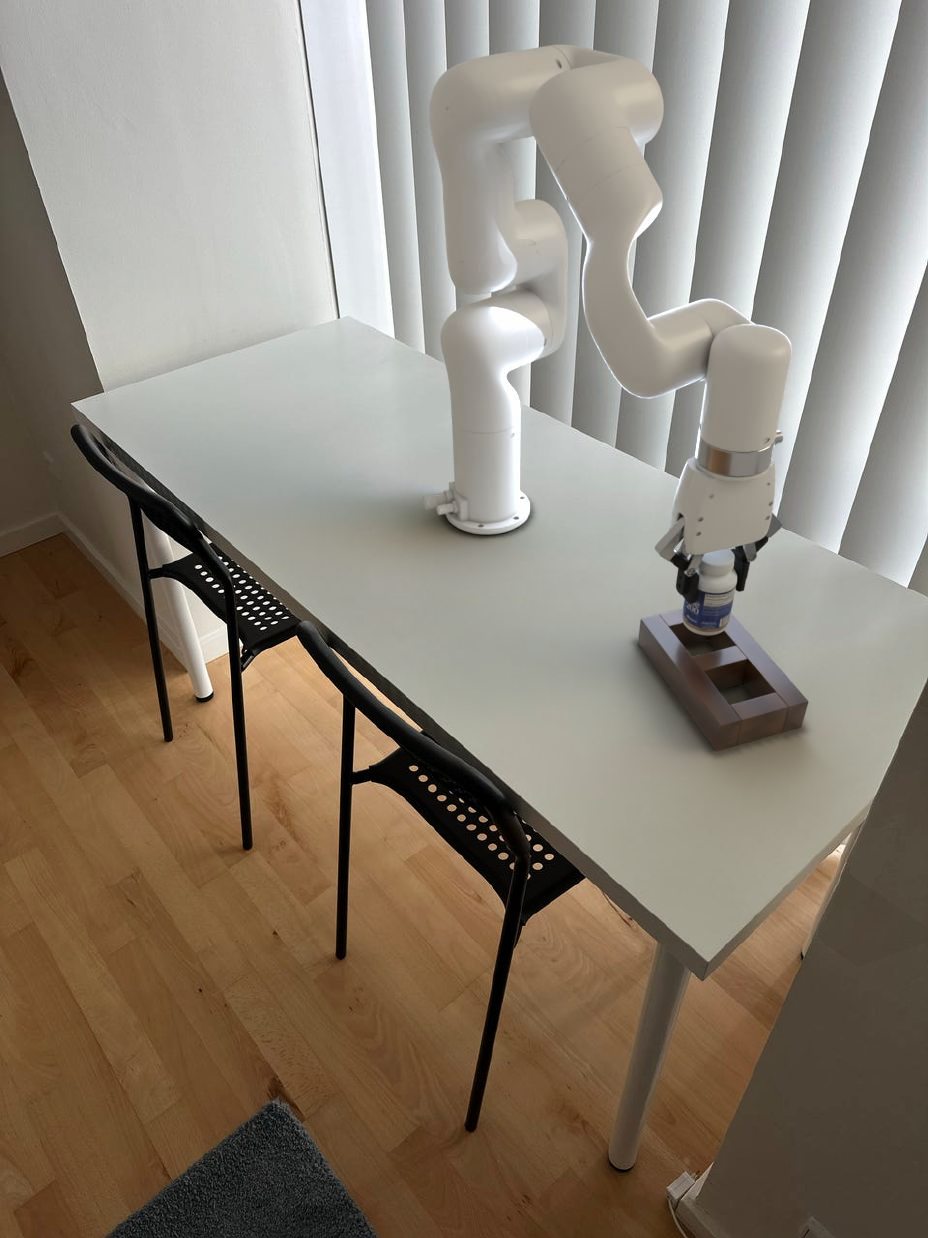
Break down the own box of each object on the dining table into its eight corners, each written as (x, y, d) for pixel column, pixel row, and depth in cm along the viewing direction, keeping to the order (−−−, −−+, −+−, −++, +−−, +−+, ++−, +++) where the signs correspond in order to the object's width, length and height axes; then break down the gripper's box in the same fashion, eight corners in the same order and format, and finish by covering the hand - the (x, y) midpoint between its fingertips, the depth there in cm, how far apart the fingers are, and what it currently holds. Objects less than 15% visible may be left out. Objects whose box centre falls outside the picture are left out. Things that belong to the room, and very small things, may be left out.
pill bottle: (676, 609, 113) (685, 542, 107) (720, 606, 113) (732, 539, 107) (688, 639, 109) (699, 571, 102) (734, 635, 109) (747, 567, 103)
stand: (715, 751, 104) (721, 726, 101) (637, 643, 118) (640, 618, 115) (801, 727, 106) (809, 701, 103) (714, 623, 120) (719, 599, 117)
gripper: (786, 419, 101) (758, 556, 113) (640, 448, 97) (627, 587, 109) (828, 452, 95) (794, 593, 107) (675, 484, 92) (657, 627, 103)
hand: (710, 589), depth 108 cm, fingers closed on pill bottle, 5 cm apart
